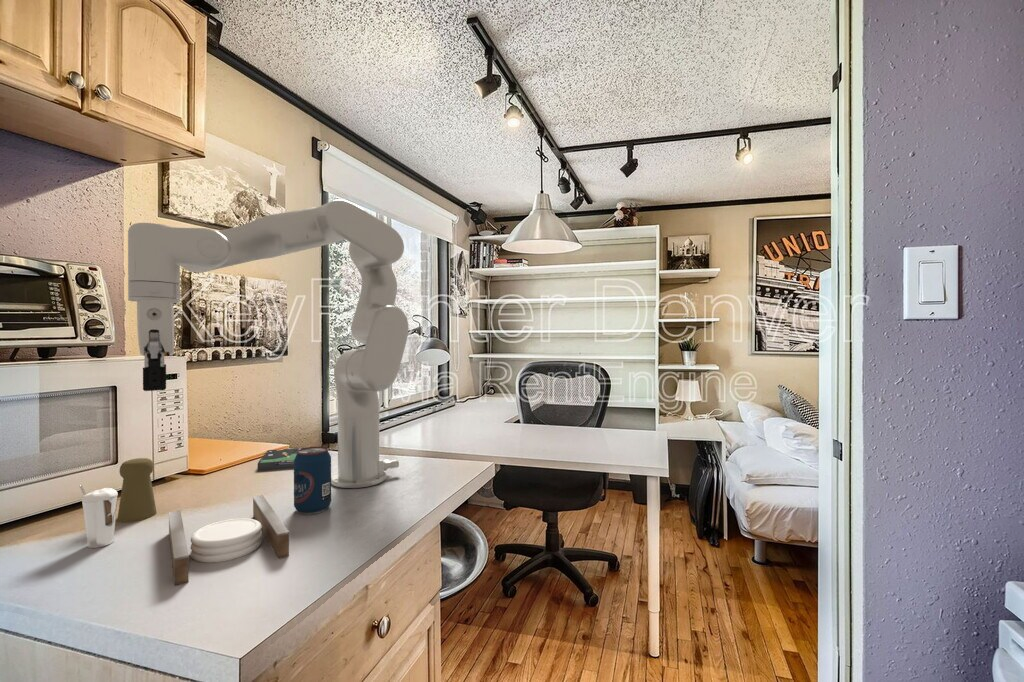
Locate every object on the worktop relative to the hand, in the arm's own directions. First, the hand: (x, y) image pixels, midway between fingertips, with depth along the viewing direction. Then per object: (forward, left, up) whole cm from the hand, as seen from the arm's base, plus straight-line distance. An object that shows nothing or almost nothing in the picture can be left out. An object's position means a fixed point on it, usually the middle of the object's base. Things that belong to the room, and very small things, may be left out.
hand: (155, 387), depth 87 cm
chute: (-9, +16, -25) cm, 31 cm away
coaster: (-9, +18, -26) cm, 33 cm away
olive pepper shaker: (+3, -9, -26) cm, 27 cm away
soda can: (-25, +8, -26) cm, 37 cm away
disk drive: (-28, -35, -26) cm, 52 cm away
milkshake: (+8, +3, -26) cm, 27 cm away
